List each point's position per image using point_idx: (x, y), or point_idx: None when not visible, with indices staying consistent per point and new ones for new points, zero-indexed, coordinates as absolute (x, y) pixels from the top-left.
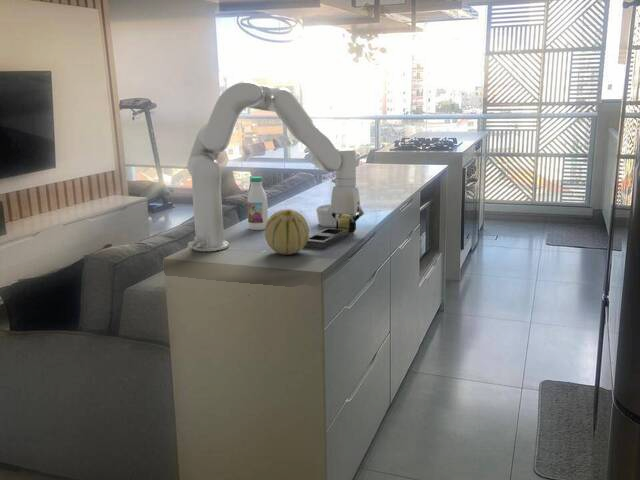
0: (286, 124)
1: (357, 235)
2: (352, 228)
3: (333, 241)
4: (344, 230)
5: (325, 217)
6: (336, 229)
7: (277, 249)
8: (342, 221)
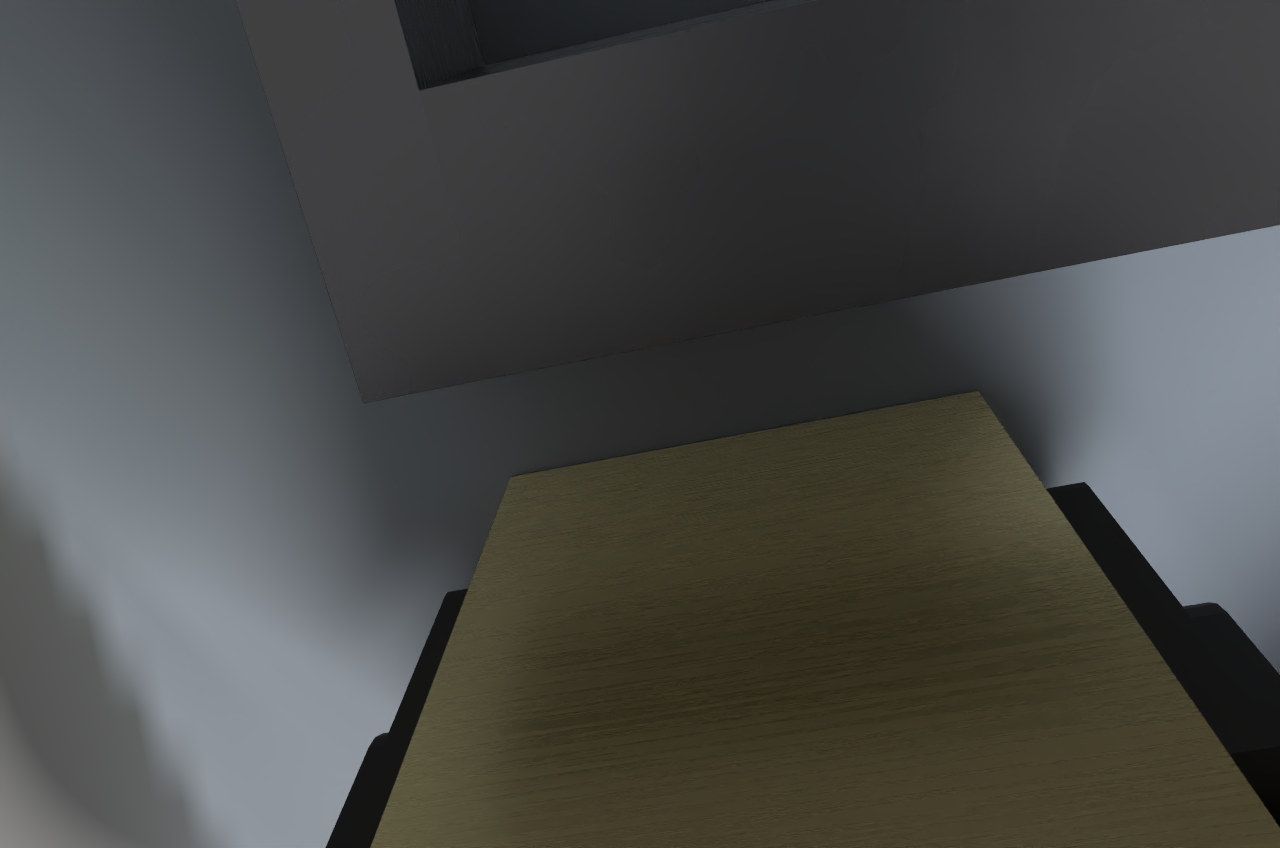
0: None
1: (245, 582)
2: None
3: None
4: (341, 118)
5: None
6: (859, 65)
7: None
8: (841, 746)
